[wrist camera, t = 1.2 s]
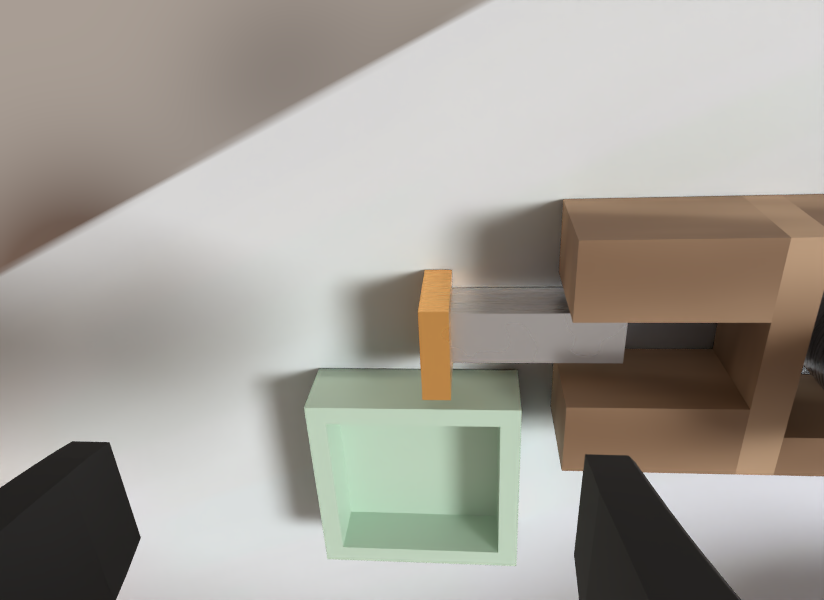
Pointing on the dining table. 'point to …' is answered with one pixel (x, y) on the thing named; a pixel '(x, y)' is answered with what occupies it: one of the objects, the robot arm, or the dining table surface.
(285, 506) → the dining table surface
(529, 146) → the dining table surface
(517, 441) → the tray
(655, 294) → the socket block
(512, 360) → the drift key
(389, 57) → the dining table surface
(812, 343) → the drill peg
